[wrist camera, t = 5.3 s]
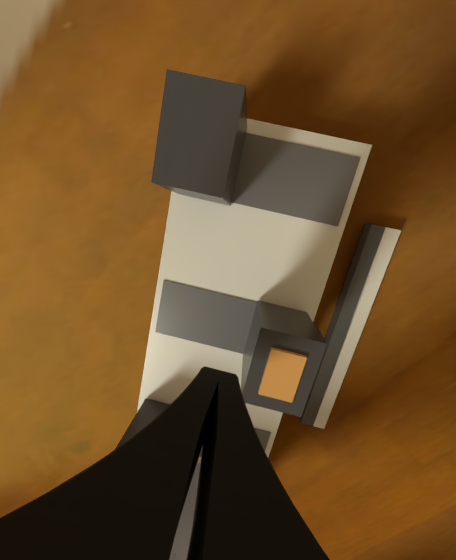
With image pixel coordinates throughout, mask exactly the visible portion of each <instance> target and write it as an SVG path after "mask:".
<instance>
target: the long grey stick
mask: <svg viewBox="0 0 456 560" xmlns="http://www.w3.org/2000/svg"><path fill="white" fill-rule="evenodd" d="M400 233H401V230H397V229H392V228H388V227H383V226H379V225H375V224H365V225H364V228H363V231H362V234H361V236H360V239H359V242H358V245H357V248H356V251H355V254H354V256H353V259H352V262H351V265H350V268H349V271H348V274H347V276H346V279H345V282H344V285H343V288H342V291H341V293H340V296H339V299H338V302H337V305H336V308H335V311H334V313H333V316H332V319H331V322H330V325H329V328H328V331H327V333H326V336H325V339H324V340H325V341H326V343H327V345H326V348H325V351H324V354H323V357H322V359H321V362H320V365H319V368H318V371H317V374H316V376H315V379H314V382H313V385H312V388H311V390H310V393H309V396H308V399H307V402H306V404H305V407H304V410H303V413H302V416H301V417H299V418H300V422H301V423H302V424H306V425H310V426H314V427H318V428H322V429H324V428H325V425H326V423H327V420H328V418H329V415H330V412H331V410H332V407H333V405H334V402H335V400H336V397H337V395H338V392H339V389H340V387H341V384H342V382H343V379H344V377H345V374H346V371H347V369H348V366H349V364H350V361H351V359H352V356H353V353H354V351H355V348H356V346H357V343H358V341H359V338H360V335H361V333H362V330H363V328H364V325H365V323H366V320H367V317H368V315H369V312H370V310H371V307H372V305H373V302H374V299H375V297H376V294H377V292H378V289H379V287H380V284H381V281H382V279H383V276H384V274H385V271H386V269H387V266H388V263H389V261H390V258H391V256H392V253H393V251H394V248H395V245H396V243H397V240H398V238H399V235H400Z"/></svg>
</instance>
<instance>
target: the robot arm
mask: <svg viewBox="0 0 456 560" xmlns="http://www.w3.org/2000/svg"><path fill="white" fill-rule="evenodd" d="M202 446H203V448H202ZM201 449H202V456H201V463H197V462H198V459H199V455H200V452H201ZM0 560H330V559H329V558H328V557H327V555H326V554H325V552H324V551H323V550H322V548H321V547H320V545H319V544H318V542H317V540H316V539H315V537H314V536H313V534H312V533H311V531H310V529H309V528H308V526H307V525H306V523H305V522H304V520H303V519H302V517H301V515H300V514H299V512H298V511H297V509H296V508H295V506H294V505H293V503H292V501H291V499H290V498H289V496H288V494H287V492H286V491H285V489H284V487H283V485H282V484H281V482H280V480H279V478H278V476H277V475H276V473H275V471H274V469H273V467H272V465H271V463H270V461H269V459H268V457H267V455H266V453H265V451H264V449H263V447H262V445H261V442H260V440H259V438H258V436H257V433H256V431H255V428H254V426H253V424H252V421H251V418H250V416H249V413H248V410H247V407H246V404H245V402H244V398H243V395H242V392H241V388H240V384H239V379H238V376H237V375H236V374H233V373H229V372H225V371H221V370H217V369H213V368H209V367H205V366H204V367H203V368H201V369H200V371H199V373H198V374H197V375H196V377H195V378H194V379H193V381H192V382H191V383H190V384H189V385H188V387H187V388H186V389H185V390H184V391H183V392H182V393H181V394H180V395H179V396H178V397H177V398H176V399H175V400H174V401H173V402H172V403H171V404H170V405H169V406H168V407H167V408H166V409H165V410H164V411H163V412H162V413H161V414H160V415H159V416H157V417H156V418H155V419H154V420H153V421H152V422H151V423H149V424H148V425H147V426H146V427H145V428H143V429H142V430H141V431H140V432H138V433H137V434H136V435H134V436H133V437H132V438H131V439H129V440H128V441H126V442H125V443H124V444H122V445H121V446H119V447H118V448H117V449H115V450H114V451H113V452H111V453H110V454H108V455H107V456H105V457H104V458H102V459H101V460H99V461H98V462H96V463H95V464H93V465H92V466H90V467H89V468H87V469H85V470H84V471H82V472H80V473H79V474H77V475H75V476H74V477H72V478H71V479H69V480H67V481H66V482H64V483H62V484H61V485H59V486H57V487H56V488H54V489H52V490H51V491H49V492H47V493H46V494H44V495H42V496H40V497H39V498H37V499H35V500H33V501H31V502H29V503H28V504H26V505H24V506H22V507H20V508H18V509H16V510H14V511H12V512H11V513H9V514H7V515H5V516H3V517H1V518H0Z"/></svg>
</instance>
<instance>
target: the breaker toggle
mask: <svg viewBox="0 0 456 560" xmlns="http://www.w3.org/2000/svg"><path fill="white" fill-rule="evenodd" d="M326 345H327V343H326V341H325V340H324V338H323V336H322V335H321V333H320V332H319V330H318V329H317V327H316V326H315V324H314V323H313V321H312V320H311V318H310V317H309V315H308V313H307V312H305V311H301V310H297V309H293V308H288V307H284V306H280V305H276V304H272V303H268V302H263V301H259V300H258V301H257V305H256V309H255V313H254V316H253V320H252V324H251V328H250V331H249V335H248V339H247V343H246V346H245V350H244V354H243V359H242V377H241V392H242V395H243V398H244V402H245V403H247V404H251V405H255V406H259V407H263V408H267V409H271V410H275V411H278V412H282V413H286V414H290V415H294V416H298V417H301V416H302V413H303V410H304V407H305V404H306V402H307V399H308V396H309V393H310V390H311V388H312V385H313V382H314V379H315V376H316V374H317V371H318V368H319V365H320V362H321V359H322V357H323V354H324V351H325V348H326Z"/></svg>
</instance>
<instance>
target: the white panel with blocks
mask: <svg viewBox="0 0 456 560" xmlns="http://www.w3.org/2000/svg"><path fill="white" fill-rule="evenodd" d="M371 147H372V145H370V144H365V143H361V142H356V141H351V140H346V139H342V138H337V137H332V136H328V135H323V134H318V133H314V132H309V131H304V130H300V129H295V128H290V127H285V126H281V125H276V124H271V123H267V122H262V121H257V120H253V119H248V118H247V107H246V86H245V85H240V84H235V83H230V82H225V81H221V80H216V79H211V78H206V77H201V76H197V75H192V74H187V73H182V72H177V71H173V70H168V69H167V72H166V79H165V86H164V94H163V101H162V108H161V116H160V123H159V130H158V138H157V145H156V153H155V160H154V167H153V175H152V183H155V184H157V185H159V186H161V187H164V188H166V189H168V190H171V191H172V192H171V199H170V205H169V211H168V218H167V224H166V231H165V237H164V243H163V250H162V256H161V263H160V269H159V275H158V282H157V288H156V295H155V301H154V307H153V314H152V320H151V326H150V333H149V339H148V346H147V352H146V358H145V365H144V371H143V378H142V384H141V390H140V397H139V403H138V410H137V414H136V415H135V417H134V419H133V420H132V422H131V424H130V425H129V427H128V429H127V430H126V432H125V434H124V435H123V437H122V439H121V440H120V442H119V444H118V445H117V447H116V449H117V448H118V447H119V446H121V445H122V444H124V443H125V442H126V441H128V440H129V439H131V438H132V437H133V436H134V435H136V434H137V433H138V432H140V431H141V430H142V429H143V428H145V427H146V426H147V425H148V424H149V423H151V422H152V421H153V420H154V419H155V418H156V417H157V416H159V415H160V414H161V413H162V412H163V411H164V410H165V409H166V408H167V407H168V406H169V405H170V404H171V403H172V402H173V401H174V400H175V399H176V398H177V397H178V396H179V395H180V394H181V393H182V392H183V391H184V390H185V389H186V388H187V387H188V385H189V384H190V383H191V382H192V381H193V379H194V378H195V377H196V375H197V374H198V373H199V371H200V369H201V368H203V367H204V366H205V367H209V368H213V369H217V370H221V371H225V372H229V373H233V374H236V375H237V376H238V379H239V384H240V388H241V377H242V359H243V354H244V350H245V346H246V343H247V339H248V335H249V331H250V328H251V324H252V320H253V316H254V313H255V309H256V305H257V301H258V300H259V301H263V302H268V303H272V304H276V305H280V306H284V307H288V308H293V309H297V310H301V311H305V312H307V313H308V315H309V317H310V318H311V320H312V321H314V318H315V315H316V312H317V309H318V306H319V303H320V300H321V297H322V294H323V291H324V288H325V285H326V282H327V279H328V276H329V273H330V270H331V267H332V264H333V261H334V258H335V255H336V252H337V249H338V246H339V243H340V240H341V237H342V234H343V231H344V228H345V225H346V222H347V219H348V216H349V213H350V210H351V207H352V204H353V201H354V198H355V195H356V192H357V189H358V186H359V183H360V180H361V177H362V174H363V171H364V168H365V165H366V162H367V159H368V156H369V153H370V150H371ZM245 404H246V407H247V410H248V413H249V416H250V418H251V421H252V424H253V426H254V428H255V431H256V433H257V436H258V438H259V440H260V442H261V445H262V447H263V449H264V451H265V453H266V455H267V457H269V454H270V451H271V448H272V445H273V442H274V439H275V436H276V433H277V430H278V427H279V424H280V421H281V418H282V415H283V413H282V412H278V411H275V410H271V409H267V408H263V407H259V406H255V405H251V404H247V403H245ZM202 448H203V446H202ZM201 456H202V449H201V452H200V455H199V459H198V462H197V463H201Z"/></svg>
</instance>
